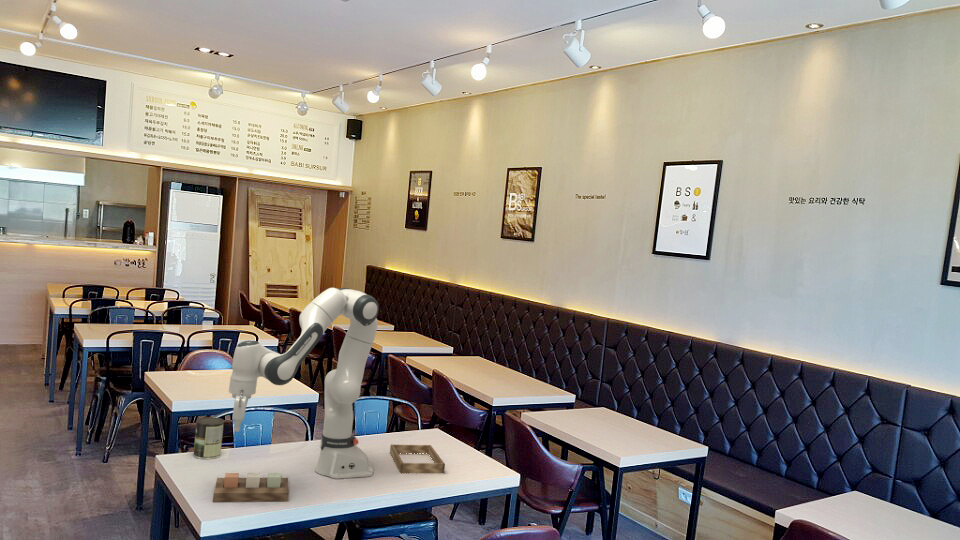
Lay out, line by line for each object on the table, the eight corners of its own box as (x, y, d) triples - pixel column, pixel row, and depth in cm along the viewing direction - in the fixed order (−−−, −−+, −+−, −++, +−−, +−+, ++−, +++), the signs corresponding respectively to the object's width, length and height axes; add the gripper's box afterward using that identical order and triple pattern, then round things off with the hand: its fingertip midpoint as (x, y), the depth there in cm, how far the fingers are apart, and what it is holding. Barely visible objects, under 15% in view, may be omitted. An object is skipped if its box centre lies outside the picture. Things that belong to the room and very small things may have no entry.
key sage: (279, 483, 240) (280, 473, 240) (280, 487, 236) (281, 477, 236) (266, 483, 239) (267, 473, 239) (266, 487, 235) (267, 477, 235)
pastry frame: (429, 454, 302) (430, 445, 302) (443, 473, 277) (444, 464, 277) (389, 453, 297) (390, 444, 297) (400, 473, 272) (401, 463, 272)
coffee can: (189, 458, 265) (192, 422, 265) (198, 450, 275) (201, 416, 275) (216, 460, 266) (219, 424, 265) (224, 452, 276) (227, 418, 276)
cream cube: (259, 483, 238) (260, 473, 238) (258, 487, 234) (259, 477, 234) (245, 483, 237) (246, 472, 237) (245, 487, 233) (246, 477, 233)
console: (287, 485, 246) (287, 477, 246) (288, 501, 232) (288, 492, 232) (216, 486, 239) (217, 477, 239) (212, 502, 225) (213, 493, 225)
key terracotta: (238, 483, 236) (239, 472, 236) (237, 487, 232) (238, 477, 232) (224, 483, 235) (225, 472, 235) (223, 487, 231) (224, 477, 231)
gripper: (251, 394, 227) (245, 436, 227) (253, 382, 246) (248, 420, 247) (231, 393, 225) (225, 435, 225) (234, 381, 245) (229, 419, 245)
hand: (237, 427), depth 236 cm, fingers open, 8 cm apart
